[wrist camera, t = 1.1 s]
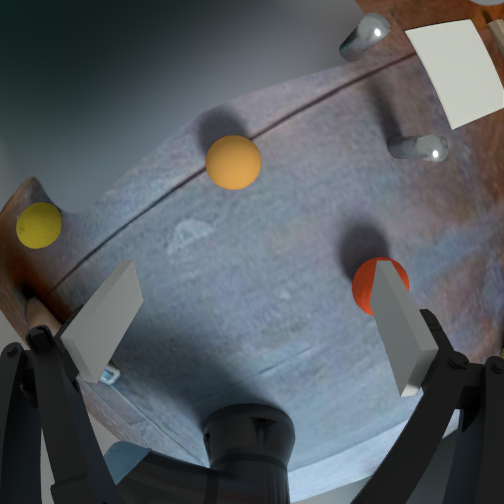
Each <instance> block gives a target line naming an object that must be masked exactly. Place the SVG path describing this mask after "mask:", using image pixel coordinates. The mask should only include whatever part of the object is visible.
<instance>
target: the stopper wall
mask: <svg viewBox="0 0 504 504" xmlns="http://www.w3.org/2000/svg"><path fill="white" fill-rule="evenodd" d="M487 25H488V27H489V29H490V30H491V32H492V34H493V36H494V38H495V40H496V42H497V44H498V46H499V48H500V50H501V53H502V55H503V57H504V22H503V20H495V21H492V22H490V23H488V24H487Z"/></svg>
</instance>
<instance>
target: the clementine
mask: <svg viewBox="0 0 504 504" xmlns="http://www.w3.org/2000/svg"><path fill="white" fill-rule="evenodd" d="M377 261H391V262H392V264H393V266H394V267H395V269H396V271H397V272H398V274H399V276H400V277H401V279H402V281H403V283H404V284H405V286H406V288H407V290H408V291H409V280H408V276H407V274H406V271H405V270H404V269H403V267H402V266H401V265H400V264H399V263H398V262H396V261H394V260H393V259H390V258H386V257H376V258H373V259H370V260H368V261H366V262H365V263H363V264H362V265H361V266H360V267H359V268H358V270H357V271H356V273H355V275H354V278H353V282H352V293H353V297H354V300H355V302H356V303H357V305H358V306H359V307H360V308H361V309H362V310H363V311H364V312H365V313H367V314H369V315H372V316H374V315H373V312H372V309H371V307H370V304H369V303H370V298H371V293H372V287H373V282H374V276H375V270H376V264H377Z"/></svg>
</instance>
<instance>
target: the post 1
mask: <svg viewBox="0 0 504 504" xmlns="http://www.w3.org/2000/svg"><path fill="white" fill-rule="evenodd" d="M389 32H390V25H389V23H388V21H387V20H386V19H385V18H384V17H383V16H381V15H380V14H377V13H369V14H367V15H366V16H365V17H364V18H363V20H362V21H361V22H360V23H359V24H358V25H357V26H356V28H355V29H354V30H353V31H352V32H351V34H350V35H349V36H348V37H347V38H346V40H345V41H344V42H343V43H342V45H341V46H340V48H339V51H340V54H341V56H342V57H343V58H344V59H345V60H347V61H351V62H353V61H357V60H358V59H359V58H360V57H362V56H363V55H364V54H365V53H366V52H367V51H368V50H370V49H371V48H372V47H373V46H374V45H375V44H377V43H378V42H379V41H380V40H381V39H383V38H384V37H385V36H386V35H387V34H388V33H389Z"/></svg>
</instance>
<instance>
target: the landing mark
mask: <svg viewBox="0 0 504 504" xmlns="http://www.w3.org/2000/svg"><path fill="white" fill-rule="evenodd" d="M404 32H405V33H406V35H407V37H408V38H409V40H410V42H411V44H412V45H413V47H414V49H415V51H416V53H417V54H418V56H419V58H420V60H421V62H422V64H423V66H424V68H425V70H426V72H427V74H428V76H429V78H430V80H431V82H432V84H433V87H434V89H435V91H436V93H437V95H438V98H439V100H440V102H441V105H442V107H443V110H444V112H445V114H446V117H447V119H448V122H449V125H450V127H451V130H453V129H455V128H457V127H459V126H462V125H464V124H466V123H469V122H471V121H473V120H476V119H478V118H480V117H483V116H485V115H487V114H490V113H492V112H494V111H497V110H499V109H501V108H504V89H503V87H502V84H501V82H500V79H499V77H498V74H497V72H496V70H495V67H494V65H493V63H492V61H491V58H490V56H489V54H488V52H487V50H486V48H485V46H484V44H483V42H482V40H481V38H480V36H479V34H478V32H477V31H476V29H475V27H474V25H473V23H472V22H471V20H462V21H455V22H448V23H442V24H437V25H431V26H426V27H421V28H416V29H411V30H407V31H404Z"/></svg>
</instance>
